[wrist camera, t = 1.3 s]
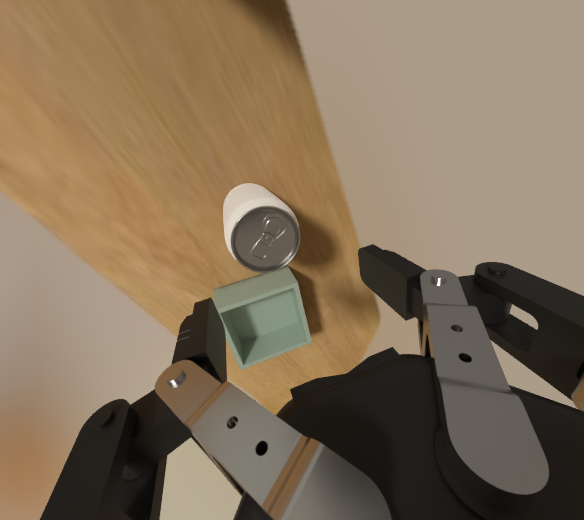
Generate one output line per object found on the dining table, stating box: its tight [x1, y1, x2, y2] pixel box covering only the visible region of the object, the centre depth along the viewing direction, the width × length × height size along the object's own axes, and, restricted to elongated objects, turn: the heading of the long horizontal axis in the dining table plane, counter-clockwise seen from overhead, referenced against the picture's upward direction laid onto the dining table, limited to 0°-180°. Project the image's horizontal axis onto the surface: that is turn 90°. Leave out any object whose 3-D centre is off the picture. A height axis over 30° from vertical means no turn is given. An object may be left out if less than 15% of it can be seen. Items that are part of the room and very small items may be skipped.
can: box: [223, 183, 300, 273], centre depth 24 cm, size 6×6×12 cm
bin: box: [213, 266, 312, 370], centre depth 33 cm, size 11×11×5 cm
